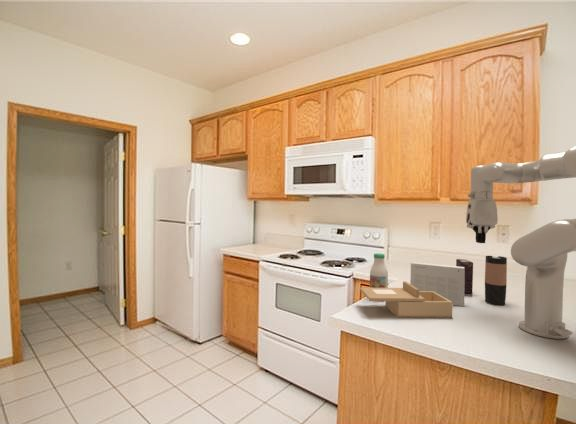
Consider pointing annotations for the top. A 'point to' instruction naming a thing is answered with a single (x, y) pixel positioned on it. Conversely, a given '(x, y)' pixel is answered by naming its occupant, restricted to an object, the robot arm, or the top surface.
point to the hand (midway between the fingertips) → (480, 242)
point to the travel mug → (495, 280)
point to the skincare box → (440, 280)
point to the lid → (393, 293)
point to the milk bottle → (379, 272)
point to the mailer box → (422, 307)
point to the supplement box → (467, 275)
